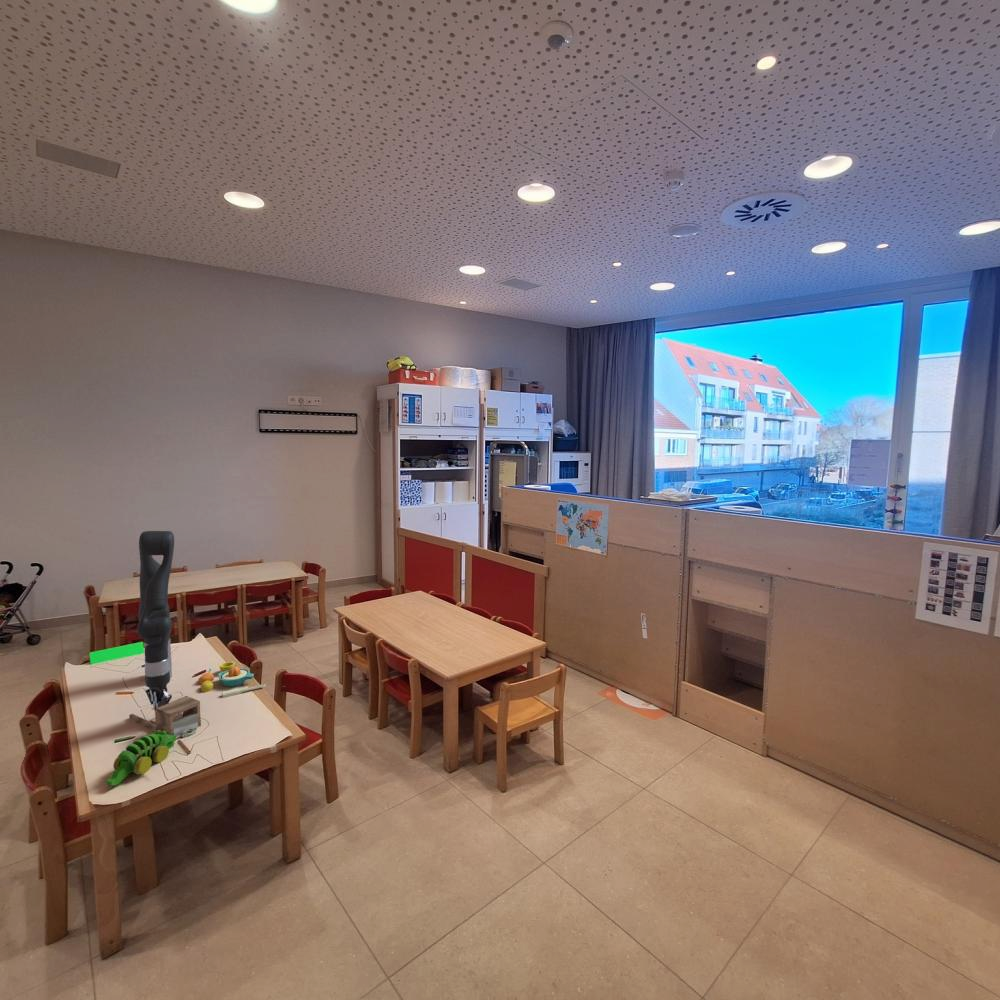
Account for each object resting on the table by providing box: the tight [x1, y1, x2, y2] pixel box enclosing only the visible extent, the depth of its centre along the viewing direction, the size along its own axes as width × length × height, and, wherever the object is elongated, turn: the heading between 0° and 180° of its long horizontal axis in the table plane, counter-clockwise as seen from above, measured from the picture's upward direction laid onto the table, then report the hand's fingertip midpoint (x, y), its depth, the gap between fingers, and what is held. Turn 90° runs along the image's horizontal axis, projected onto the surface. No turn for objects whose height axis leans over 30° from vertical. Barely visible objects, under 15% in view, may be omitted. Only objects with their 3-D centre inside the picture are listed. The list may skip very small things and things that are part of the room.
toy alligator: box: [104, 728, 197, 786], centre depth 169 cm, size 10×32×9 cm, turn 167°
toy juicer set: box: [198, 661, 267, 699], centre depth 219 cm, size 29×18×8 cm, turn 56°
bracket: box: [88, 641, 145, 665], centre depth 243 cm, size 20×10×7 cm, turn 132°
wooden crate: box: [128, 695, 202, 737], centre depth 190 cm, size 26×10×9 cm, turn 62°
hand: (159, 716), depth 191 cm, fingers closed
